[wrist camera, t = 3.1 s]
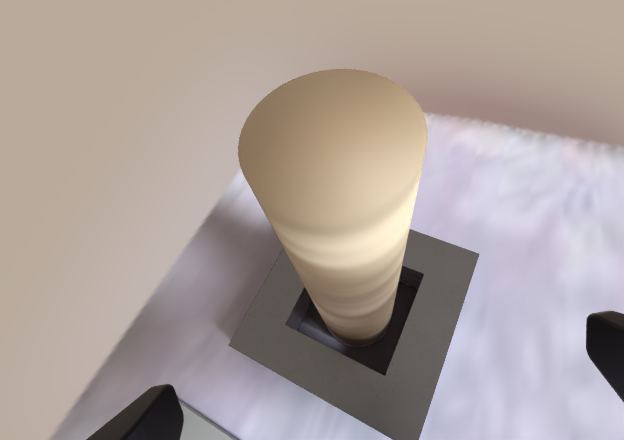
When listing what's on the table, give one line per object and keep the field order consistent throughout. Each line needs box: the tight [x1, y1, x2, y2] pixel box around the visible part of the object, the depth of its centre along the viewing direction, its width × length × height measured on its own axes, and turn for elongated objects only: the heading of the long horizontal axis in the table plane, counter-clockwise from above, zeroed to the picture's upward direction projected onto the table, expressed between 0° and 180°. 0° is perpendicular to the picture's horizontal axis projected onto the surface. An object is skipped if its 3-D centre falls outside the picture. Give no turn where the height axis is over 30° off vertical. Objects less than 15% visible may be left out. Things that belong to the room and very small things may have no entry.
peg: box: [238, 69, 427, 347], centre depth 13 cm, size 4×4×14 cm
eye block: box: [229, 229, 479, 440], centre depth 18 cm, size 9×9×2 cm
